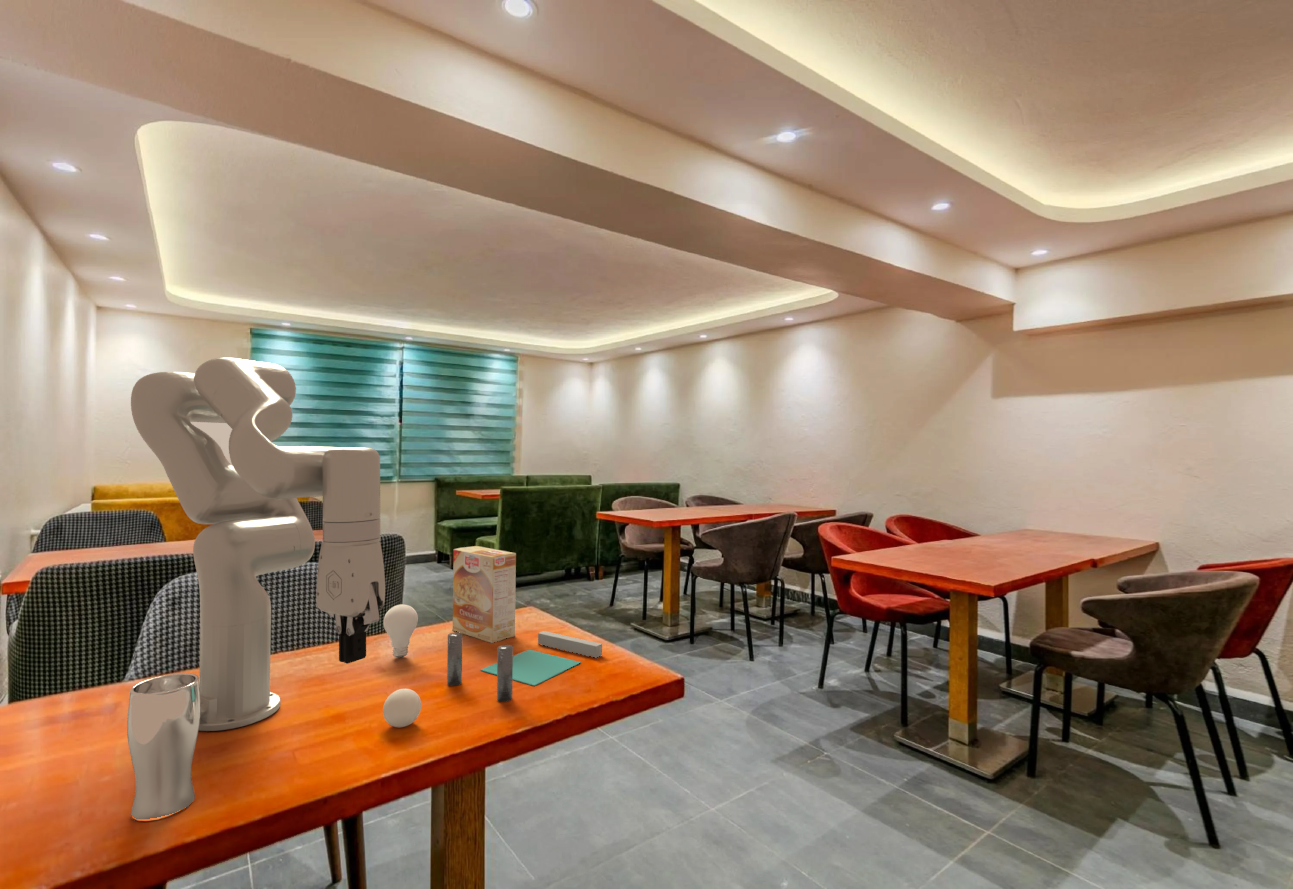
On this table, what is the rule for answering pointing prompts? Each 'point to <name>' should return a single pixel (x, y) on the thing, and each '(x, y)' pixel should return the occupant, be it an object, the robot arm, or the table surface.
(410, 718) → the ball
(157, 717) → the beer glass
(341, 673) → the table surface
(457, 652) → the left post
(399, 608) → the light bulb
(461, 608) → the coffeecake box
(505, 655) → the right post
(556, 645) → the stopper wall
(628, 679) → the table surface
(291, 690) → the table surface
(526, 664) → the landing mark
